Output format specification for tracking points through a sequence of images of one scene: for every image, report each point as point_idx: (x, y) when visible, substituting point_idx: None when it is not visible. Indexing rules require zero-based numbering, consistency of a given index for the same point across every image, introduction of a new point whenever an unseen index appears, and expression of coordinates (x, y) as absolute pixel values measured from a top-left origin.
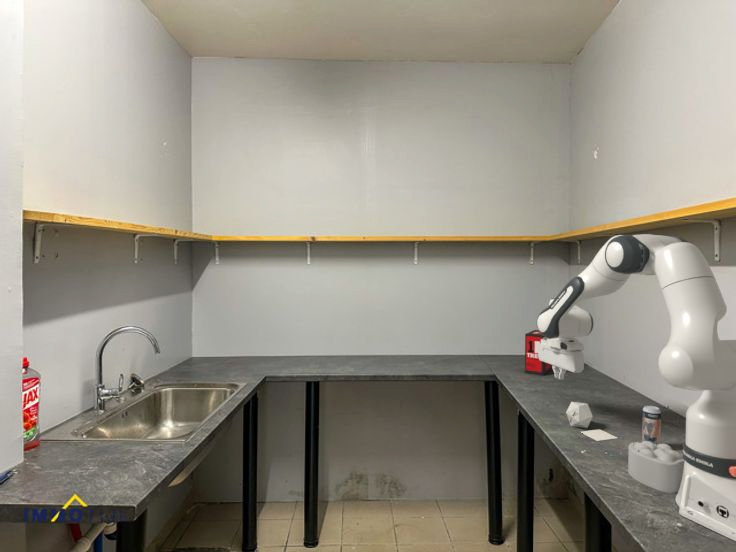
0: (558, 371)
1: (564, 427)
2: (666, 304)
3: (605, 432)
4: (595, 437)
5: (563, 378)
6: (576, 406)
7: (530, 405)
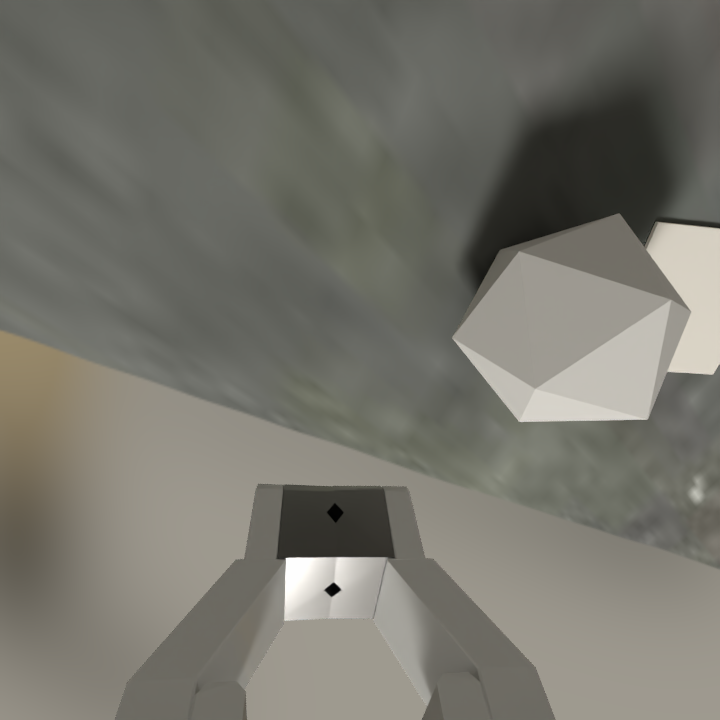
0: (267, 605)
1: None
2: None
3: (708, 236)
4: (688, 352)
5: (406, 495)
6: (615, 416)
7: (58, 309)
